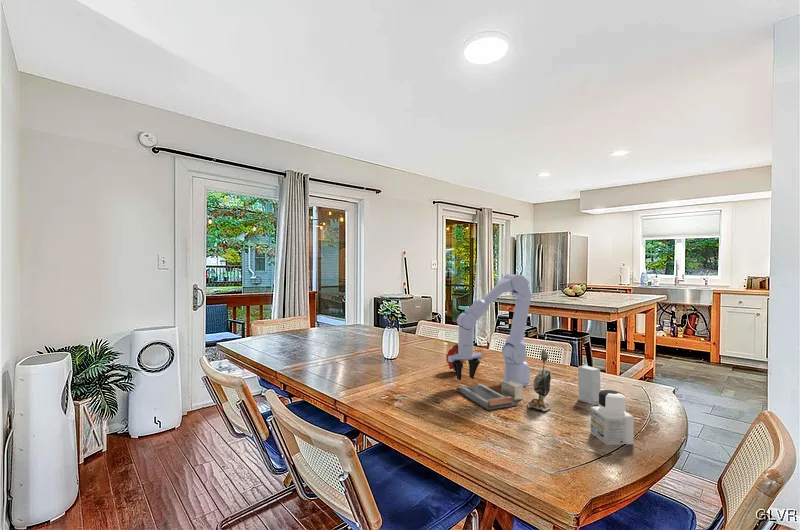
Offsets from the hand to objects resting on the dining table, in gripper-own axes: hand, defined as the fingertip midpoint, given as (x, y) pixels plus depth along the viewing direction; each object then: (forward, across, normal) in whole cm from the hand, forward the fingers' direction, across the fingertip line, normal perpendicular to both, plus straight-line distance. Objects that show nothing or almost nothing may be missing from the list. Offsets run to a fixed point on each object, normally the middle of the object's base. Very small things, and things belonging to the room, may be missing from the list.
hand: (465, 378), depth 152 cm
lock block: (+3, -10, +16) cm, 19 cm away
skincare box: (+3, -32, +30) cm, 44 cm away
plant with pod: (+3, -13, +27) cm, 30 cm away
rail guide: (+3, 0, +13) cm, 13 cm away
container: (+3, -15, +53) cm, 55 cm away
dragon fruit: (+3, -6, -18) cm, 20 cm away
